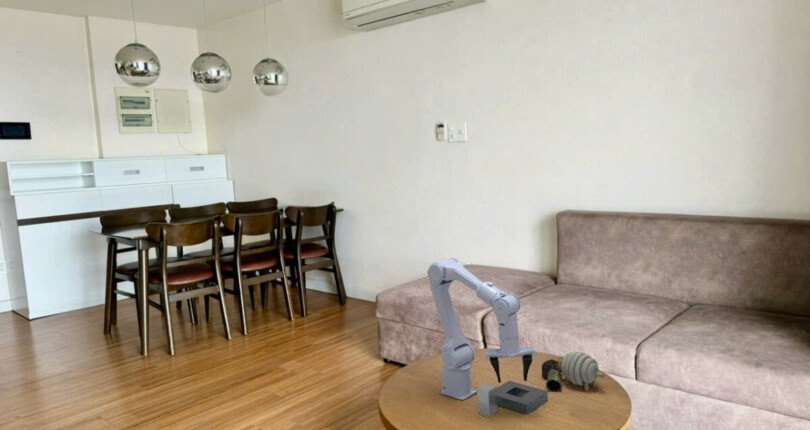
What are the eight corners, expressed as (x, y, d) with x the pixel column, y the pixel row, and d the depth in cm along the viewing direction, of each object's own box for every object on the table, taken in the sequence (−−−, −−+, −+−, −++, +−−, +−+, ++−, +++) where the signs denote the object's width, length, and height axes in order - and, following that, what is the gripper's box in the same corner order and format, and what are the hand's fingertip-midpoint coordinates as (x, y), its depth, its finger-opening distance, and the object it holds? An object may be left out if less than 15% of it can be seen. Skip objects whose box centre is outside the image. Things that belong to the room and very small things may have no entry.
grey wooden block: (478, 413, 169) (477, 388, 168) (486, 408, 172) (485, 383, 171) (489, 417, 166) (488, 391, 165) (497, 412, 169) (496, 386, 168)
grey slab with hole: (488, 402, 176) (487, 393, 176) (509, 389, 185) (509, 380, 184) (527, 414, 166) (527, 404, 166) (547, 400, 175) (547, 391, 175)
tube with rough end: (561, 393, 180) (561, 376, 180) (540, 392, 182) (539, 375, 181) (562, 371, 197) (562, 356, 196) (543, 370, 199) (542, 355, 198)
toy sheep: (566, 374, 194) (566, 343, 192) (613, 387, 181) (613, 354, 180) (550, 384, 187) (549, 352, 185) (597, 398, 174) (596, 364, 173)
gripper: (485, 341, 163) (488, 387, 164) (535, 338, 162) (539, 384, 163) (483, 334, 170) (487, 378, 171) (531, 331, 169) (535, 375, 170)
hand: (512, 380), depth 167 cm, fingers open, 7 cm apart
